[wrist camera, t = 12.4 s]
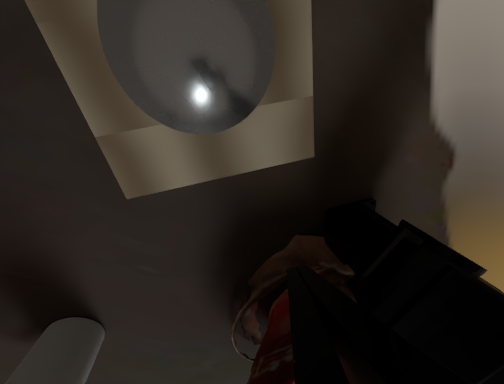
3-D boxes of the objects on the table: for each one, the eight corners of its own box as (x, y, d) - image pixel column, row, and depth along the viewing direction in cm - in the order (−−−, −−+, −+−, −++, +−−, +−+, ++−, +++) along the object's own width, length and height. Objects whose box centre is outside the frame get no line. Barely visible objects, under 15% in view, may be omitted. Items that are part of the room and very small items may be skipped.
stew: (172, 287, 24) (121, 550, 10) (345, 203, 24) (542, 348, 10) (257, 372, 37) (288, 541, 23) (371, 317, 37) (474, 453, 23)
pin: (234, 17, 15) (264, -86, 7) (248, 111, 18) (282, 119, 10) (143, 30, 14) (53, -68, 6) (174, 125, 17) (142, 147, 9)
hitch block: (275, -59, 13) (308, -139, 9) (290, 144, 20) (314, 156, 15) (55, -37, 12) (-37, -120, 7) (147, 175, 18) (127, 199, 14)
